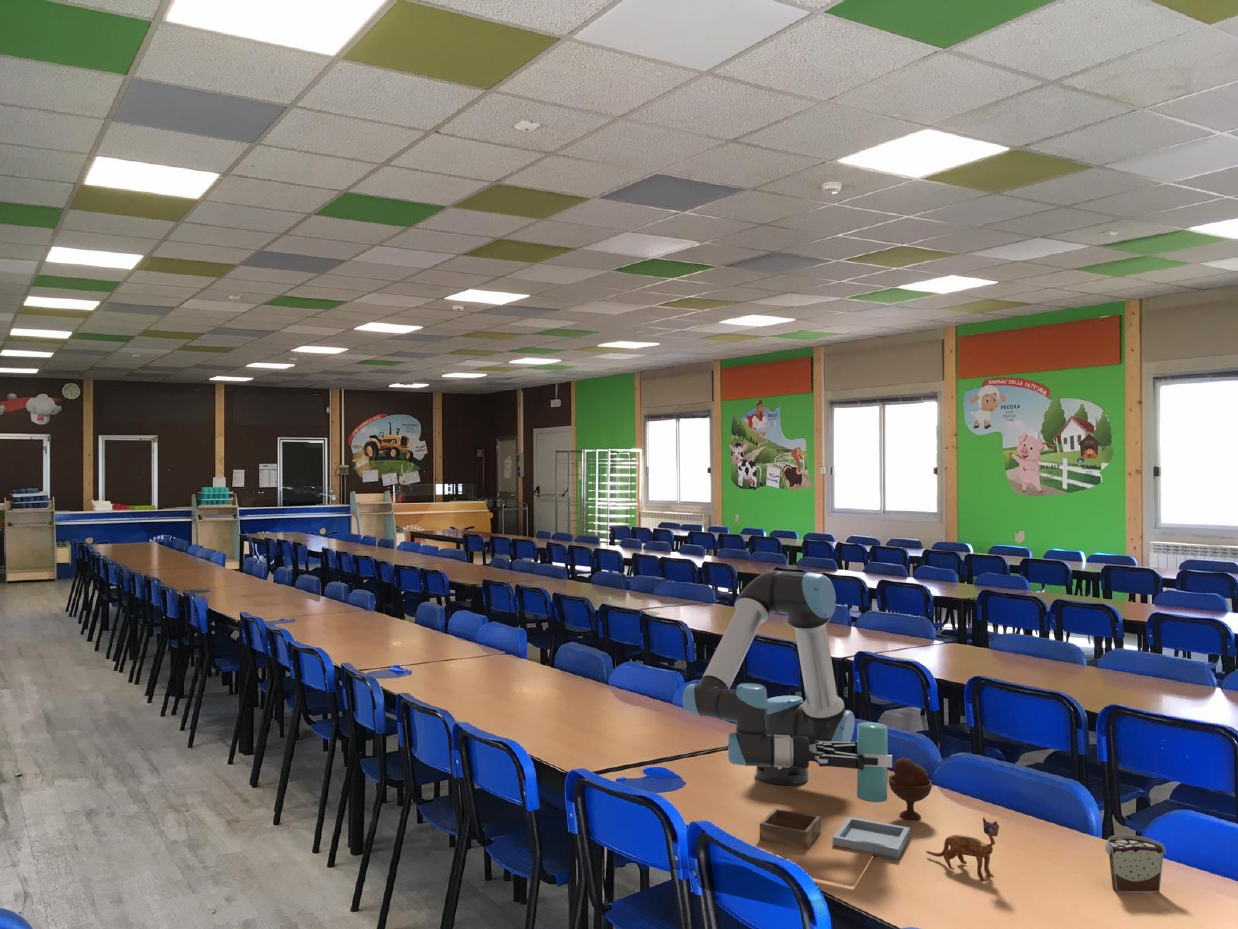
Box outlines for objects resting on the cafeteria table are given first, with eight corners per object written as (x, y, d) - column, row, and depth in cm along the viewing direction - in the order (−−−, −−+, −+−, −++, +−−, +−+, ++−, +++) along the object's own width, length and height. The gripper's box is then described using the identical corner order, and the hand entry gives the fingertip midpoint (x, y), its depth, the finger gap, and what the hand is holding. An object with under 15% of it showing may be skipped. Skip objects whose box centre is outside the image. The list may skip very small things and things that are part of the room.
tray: (848, 826, 229) (848, 816, 229) (910, 838, 222) (910, 827, 222) (832, 847, 215) (832, 837, 215) (898, 860, 208) (898, 849, 208)
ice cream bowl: (904, 827, 229) (904, 766, 229) (880, 811, 240) (880, 754, 240) (941, 823, 232) (941, 763, 232) (915, 807, 242) (915, 751, 243)
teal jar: (855, 791, 223) (855, 721, 223) (884, 793, 222) (884, 723, 222) (858, 801, 216) (859, 729, 216) (889, 803, 215) (889, 730, 215)
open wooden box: (774, 826, 229) (774, 808, 229) (820, 835, 223) (820, 816, 223) (759, 842, 218) (759, 823, 218) (807, 851, 213) (807, 832, 213)
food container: (1148, 879, 199) (1148, 833, 199) (1166, 892, 193) (1166, 844, 193) (1093, 880, 199) (1093, 833, 199) (1109, 892, 193) (1109, 845, 193)
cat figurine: (918, 860, 209) (918, 802, 209) (933, 853, 213) (933, 796, 213) (991, 886, 195) (991, 824, 196) (1006, 878, 199) (1006, 817, 200)
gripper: (789, 755, 231) (882, 760, 228) (794, 780, 211) (896, 785, 208) (789, 725, 231) (883, 729, 228) (794, 747, 212) (896, 752, 209)
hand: (889, 756), depth 218 cm, fingers closed on teal jar, 7 cm apart
